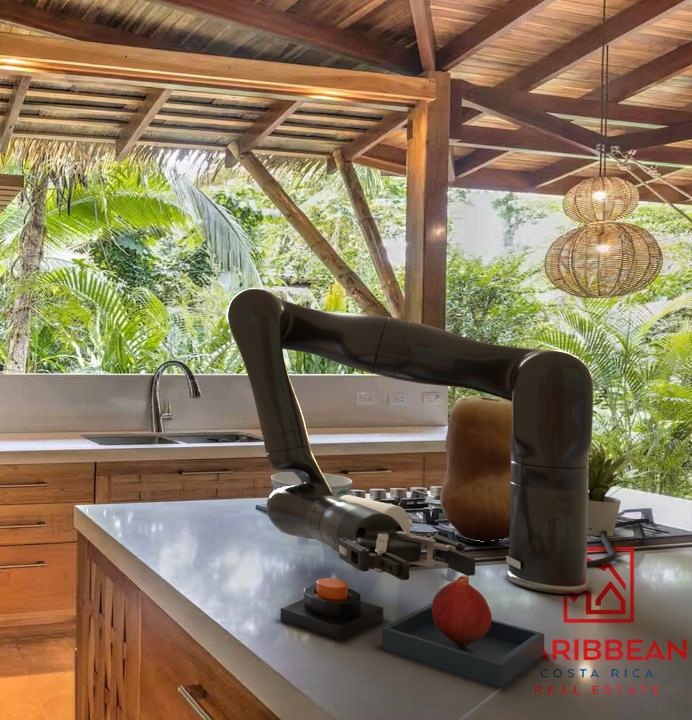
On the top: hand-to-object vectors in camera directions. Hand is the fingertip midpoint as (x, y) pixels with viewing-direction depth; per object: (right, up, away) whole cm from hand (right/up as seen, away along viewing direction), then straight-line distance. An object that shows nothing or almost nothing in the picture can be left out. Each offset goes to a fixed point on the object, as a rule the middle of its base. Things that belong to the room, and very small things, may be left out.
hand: (440, 569), depth 85 cm
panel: (-11, -8, +5) cm, 14 cm away
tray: (+1, -8, -4) cm, 9 cm away
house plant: (+52, -7, +45) cm, 70 cm away
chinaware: (+4, -7, +58) cm, 58 cm away
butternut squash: (+28, -7, +41) cm, 50 cm away
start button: (-11, -5, +5) cm, 13 cm away
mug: (+9, -7, +38) cm, 40 cm away
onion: (0, -8, -3) cm, 8 cm away
